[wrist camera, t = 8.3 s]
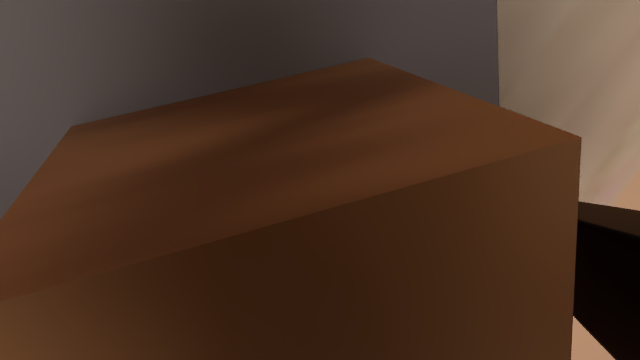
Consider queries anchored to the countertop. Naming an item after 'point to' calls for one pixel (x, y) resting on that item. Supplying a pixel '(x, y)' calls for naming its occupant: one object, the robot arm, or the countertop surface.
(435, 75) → the book
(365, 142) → the walnut cube
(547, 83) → the countertop surface
